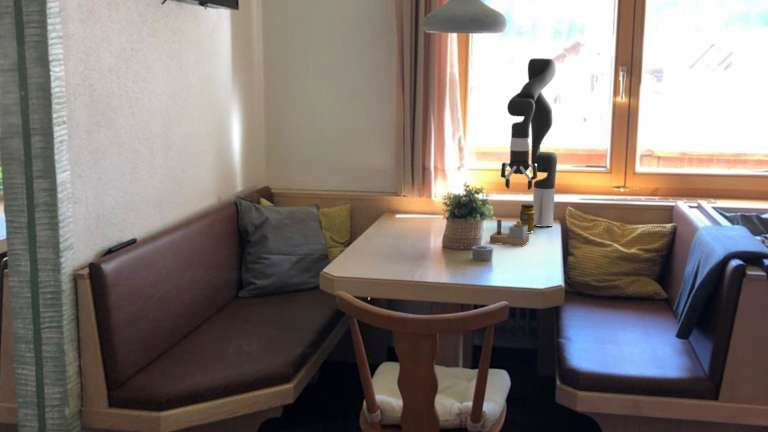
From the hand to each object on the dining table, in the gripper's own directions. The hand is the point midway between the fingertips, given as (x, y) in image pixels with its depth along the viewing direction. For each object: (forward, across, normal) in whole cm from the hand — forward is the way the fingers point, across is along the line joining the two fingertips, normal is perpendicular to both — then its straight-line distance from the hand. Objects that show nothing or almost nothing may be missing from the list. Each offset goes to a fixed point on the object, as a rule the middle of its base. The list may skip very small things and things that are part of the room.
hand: (518, 188), depth 324 cm
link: (+18, -1, +4) cm, 19 cm away
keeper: (+21, +2, +4) cm, 22 cm away
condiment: (+22, +1, -20) cm, 30 cm away
